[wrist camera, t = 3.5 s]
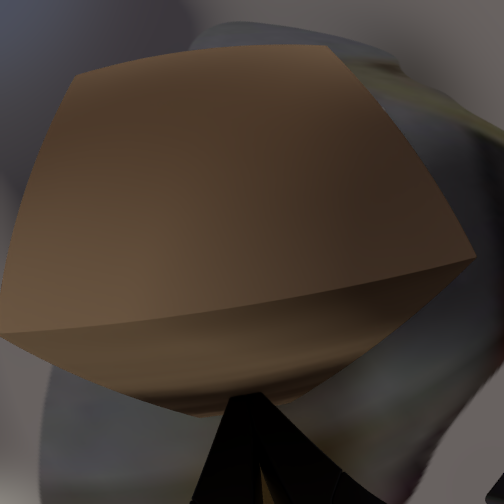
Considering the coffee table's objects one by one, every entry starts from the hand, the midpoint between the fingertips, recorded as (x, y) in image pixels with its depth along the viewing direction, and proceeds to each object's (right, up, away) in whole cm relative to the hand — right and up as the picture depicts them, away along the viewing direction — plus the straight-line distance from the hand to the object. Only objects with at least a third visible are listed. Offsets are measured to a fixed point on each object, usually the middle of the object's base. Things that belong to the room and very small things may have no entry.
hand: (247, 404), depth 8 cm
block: (-1, -2, +8) cm, 8 cm away
